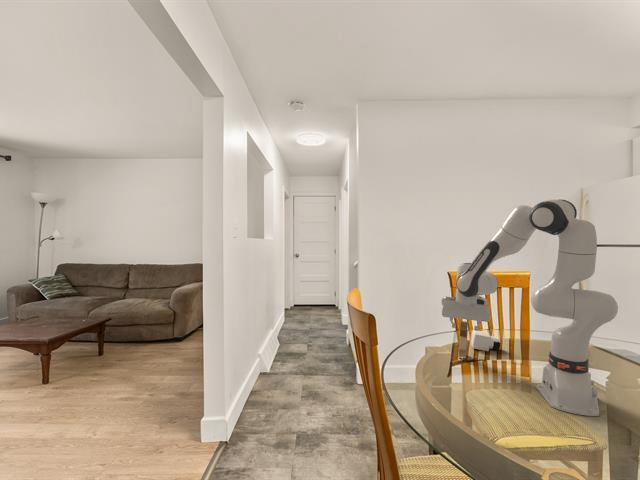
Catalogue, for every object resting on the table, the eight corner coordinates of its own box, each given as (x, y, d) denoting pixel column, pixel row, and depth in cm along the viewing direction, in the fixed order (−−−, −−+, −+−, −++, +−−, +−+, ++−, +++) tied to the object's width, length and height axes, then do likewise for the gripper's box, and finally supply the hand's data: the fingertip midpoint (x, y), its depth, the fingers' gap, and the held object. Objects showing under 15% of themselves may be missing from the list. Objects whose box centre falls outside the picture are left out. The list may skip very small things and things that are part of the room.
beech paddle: (465, 359, 165) (467, 324, 164) (458, 358, 166) (460, 324, 165) (466, 354, 171) (467, 321, 169) (459, 353, 172) (460, 320, 170)
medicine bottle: (470, 343, 183) (496, 348, 180) (472, 348, 177) (499, 353, 174) (473, 329, 183) (499, 334, 180) (475, 334, 176) (502, 339, 173)
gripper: (441, 297, 167) (440, 327, 167) (491, 302, 159) (489, 333, 160) (442, 295, 173) (441, 324, 173) (490, 299, 165) (488, 330, 166)
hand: (464, 328), depth 166 cm, fingers open, 8 cm apart
